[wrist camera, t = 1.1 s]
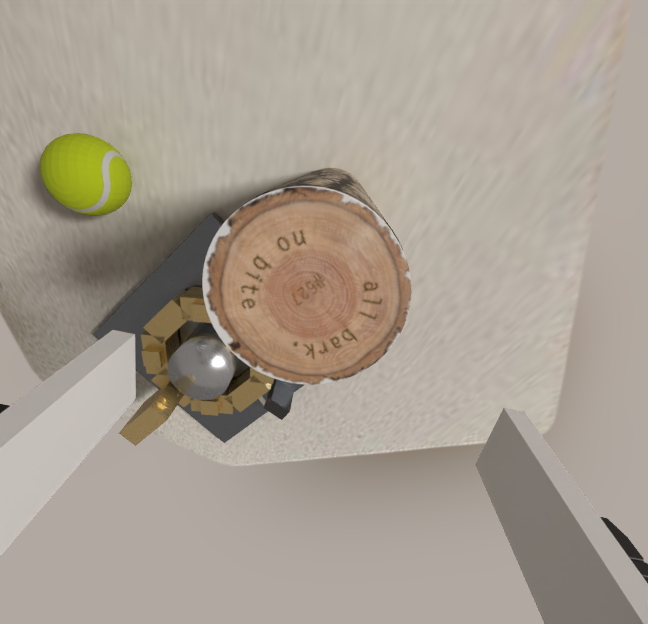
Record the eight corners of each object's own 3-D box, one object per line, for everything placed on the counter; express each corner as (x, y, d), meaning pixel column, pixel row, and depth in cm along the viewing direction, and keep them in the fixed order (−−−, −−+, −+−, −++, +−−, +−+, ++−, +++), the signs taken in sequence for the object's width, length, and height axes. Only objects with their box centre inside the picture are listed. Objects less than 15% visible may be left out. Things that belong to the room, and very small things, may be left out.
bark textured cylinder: (379, 211, 35) (453, 315, 12) (324, 254, 36) (293, 415, 14) (336, 151, 33) (322, 132, 10) (280, 199, 35) (158, 278, 12)
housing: (99, 329, 41) (53, 362, 35) (214, 212, 35) (185, 224, 29) (227, 436, 46) (207, 482, 40) (345, 349, 41) (346, 386, 34)
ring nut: (212, 262, 36) (179, 288, 29) (303, 352, 39) (294, 396, 32) (118, 353, 41) (69, 395, 33) (206, 426, 44) (179, 479, 37)
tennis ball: (151, 210, 36) (111, 221, 29) (86, 209, 36) (33, 220, 30) (138, 136, 33) (91, 130, 27) (68, 135, 33) (5, 130, 27)
